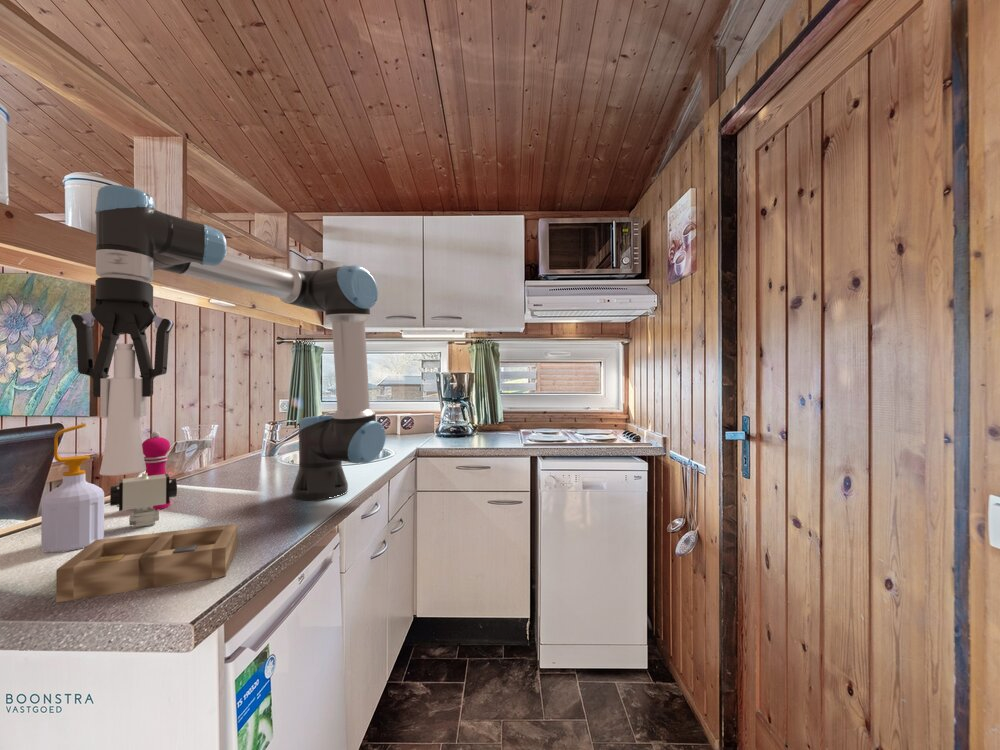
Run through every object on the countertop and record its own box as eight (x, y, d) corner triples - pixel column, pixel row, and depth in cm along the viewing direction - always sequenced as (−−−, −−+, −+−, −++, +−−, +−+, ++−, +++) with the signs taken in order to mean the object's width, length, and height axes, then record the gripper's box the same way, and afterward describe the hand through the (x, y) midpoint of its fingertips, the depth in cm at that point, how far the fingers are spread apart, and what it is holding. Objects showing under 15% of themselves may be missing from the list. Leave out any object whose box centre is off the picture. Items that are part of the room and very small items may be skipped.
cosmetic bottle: (155, 468, 77) (156, 345, 77) (125, 476, 71) (127, 342, 71) (121, 468, 77) (122, 345, 77) (89, 475, 71) (90, 342, 71)
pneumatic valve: (176, 522, 102) (177, 471, 102) (109, 533, 94) (110, 479, 94) (174, 516, 106) (175, 467, 106) (110, 527, 98) (111, 474, 98)
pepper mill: (135, 507, 113) (136, 431, 113) (170, 501, 118) (170, 428, 118) (139, 513, 108) (139, 433, 108) (174, 507, 113) (175, 431, 113)
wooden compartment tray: (237, 548, 86) (237, 522, 86) (225, 576, 74) (225, 545, 74) (95, 567, 77) (95, 538, 77) (56, 602, 66) (56, 567, 66)
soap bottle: (104, 544, 88) (105, 424, 88) (39, 557, 82) (40, 428, 82) (103, 533, 94) (104, 421, 95) (42, 544, 88) (43, 424, 88)
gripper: (47, 270, 67) (45, 420, 67) (179, 280, 74) (177, 416, 74) (71, 280, 74) (70, 416, 74) (190, 288, 81) (189, 413, 81)
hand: (123, 416), depth 74 cm, fingers closed on cosmetic bottle, 4 cm apart
